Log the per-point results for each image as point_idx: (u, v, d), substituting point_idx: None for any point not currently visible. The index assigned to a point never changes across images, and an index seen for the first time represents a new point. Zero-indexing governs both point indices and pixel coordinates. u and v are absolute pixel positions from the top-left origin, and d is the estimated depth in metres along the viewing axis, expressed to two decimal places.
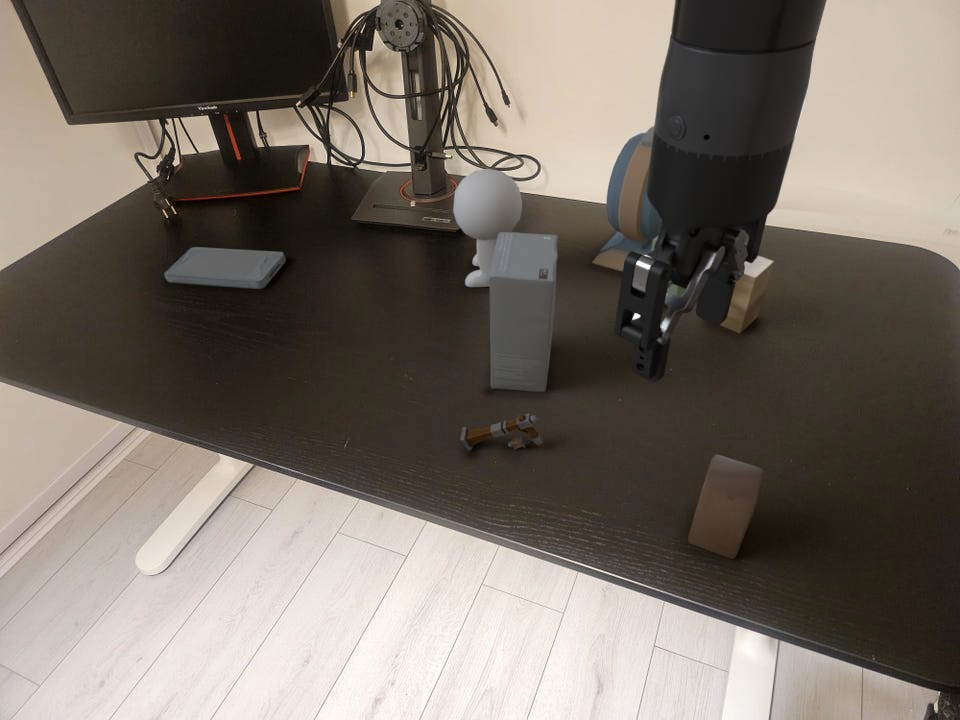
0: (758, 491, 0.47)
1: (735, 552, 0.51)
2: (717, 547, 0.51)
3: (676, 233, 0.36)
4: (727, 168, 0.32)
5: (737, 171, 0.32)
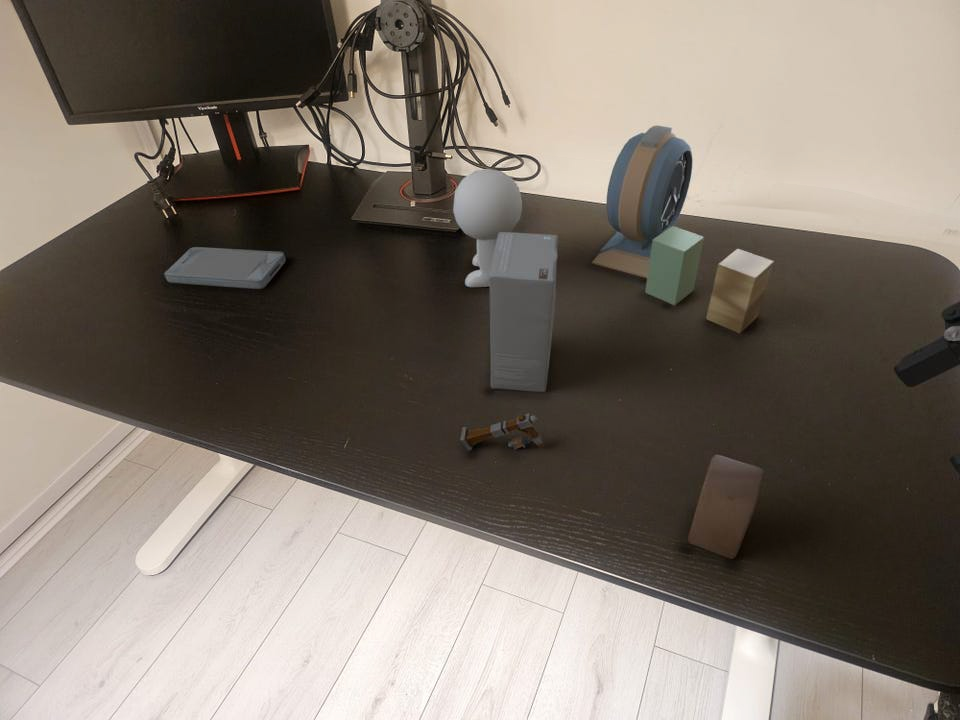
0: (758, 491, 0.47)
1: (735, 552, 0.51)
2: (717, 547, 0.51)
3: None
4: None
5: None
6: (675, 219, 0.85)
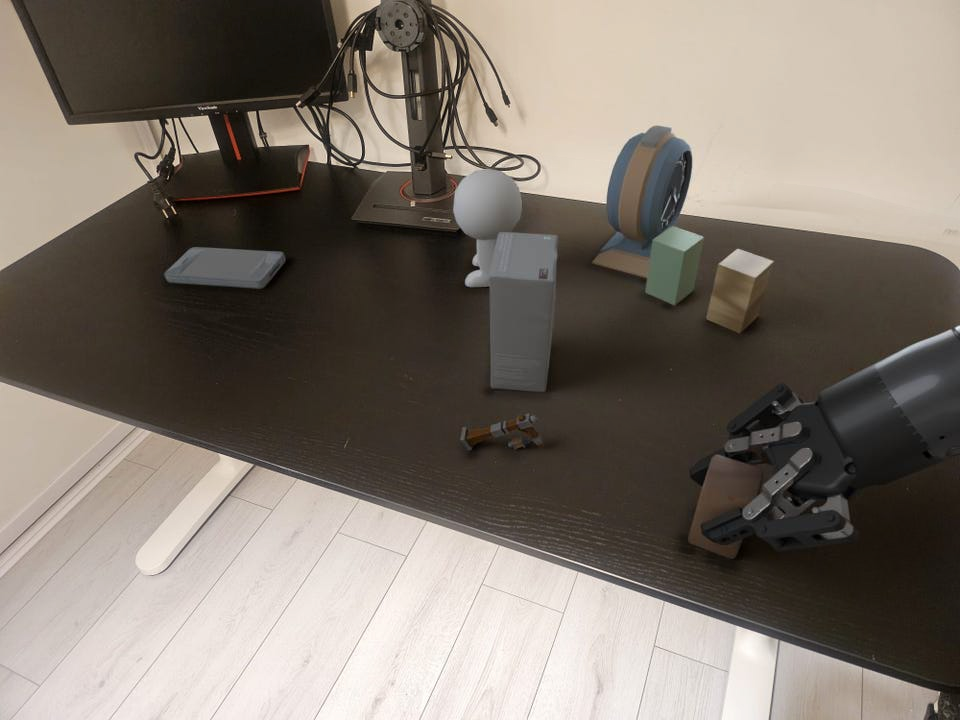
0: (758, 491, 0.47)
1: (735, 552, 0.51)
2: (717, 547, 0.51)
3: None
4: (866, 368, 0.44)
5: None
6: (675, 219, 0.85)
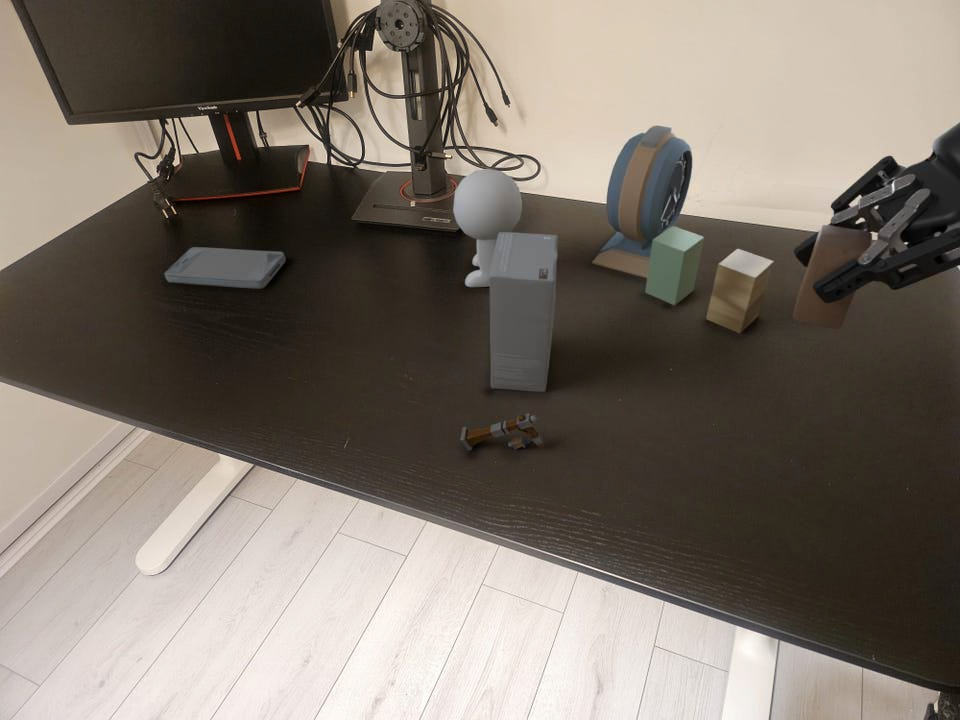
0: None
1: (842, 319, 0.53)
2: (823, 317, 0.54)
3: None
4: None
5: None
6: (675, 219, 0.85)
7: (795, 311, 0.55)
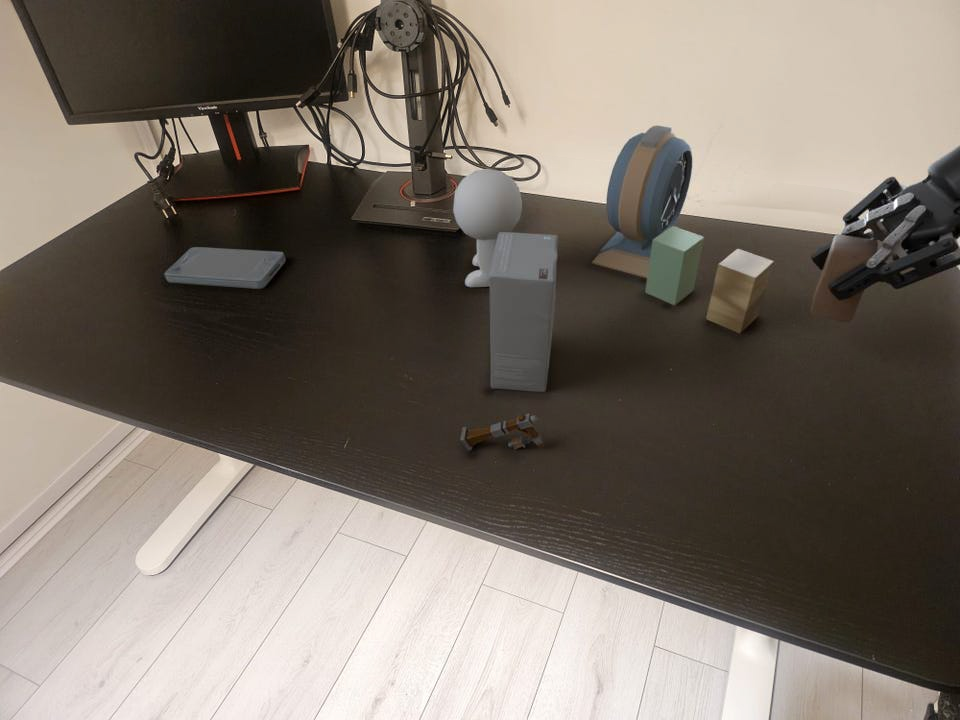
0: (876, 252, 0.60)
1: (852, 314, 0.63)
2: (837, 312, 0.64)
3: None
4: None
5: None
6: (675, 219, 0.85)
7: (812, 307, 0.65)
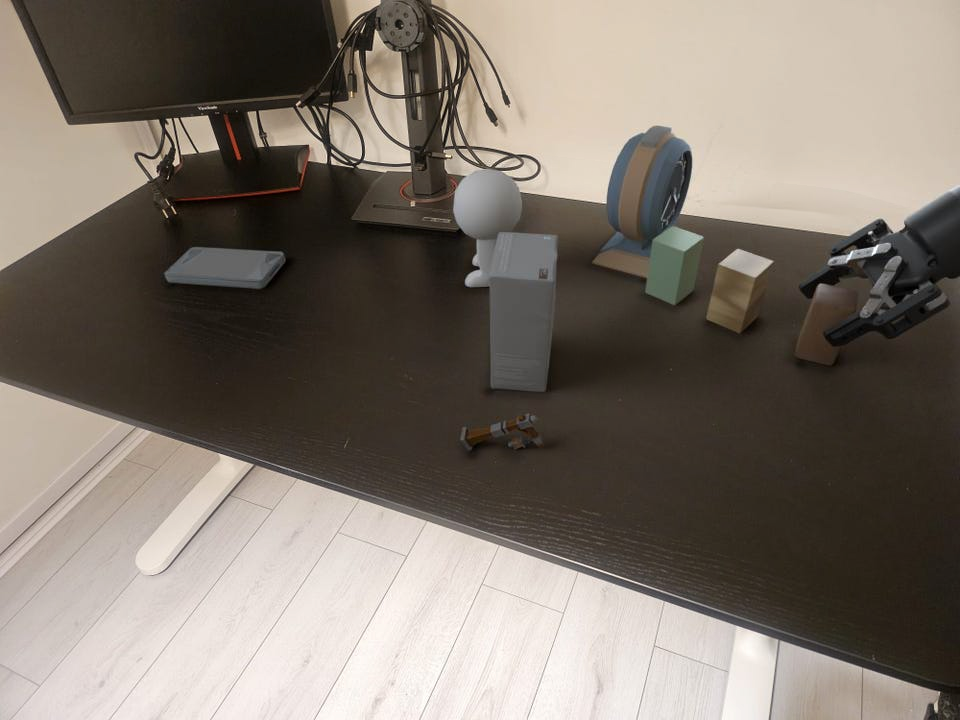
0: (856, 303, 0.64)
1: (833, 358, 0.67)
2: (819, 356, 0.68)
3: None
4: None
5: None
6: (675, 219, 0.85)
7: (796, 350, 0.69)
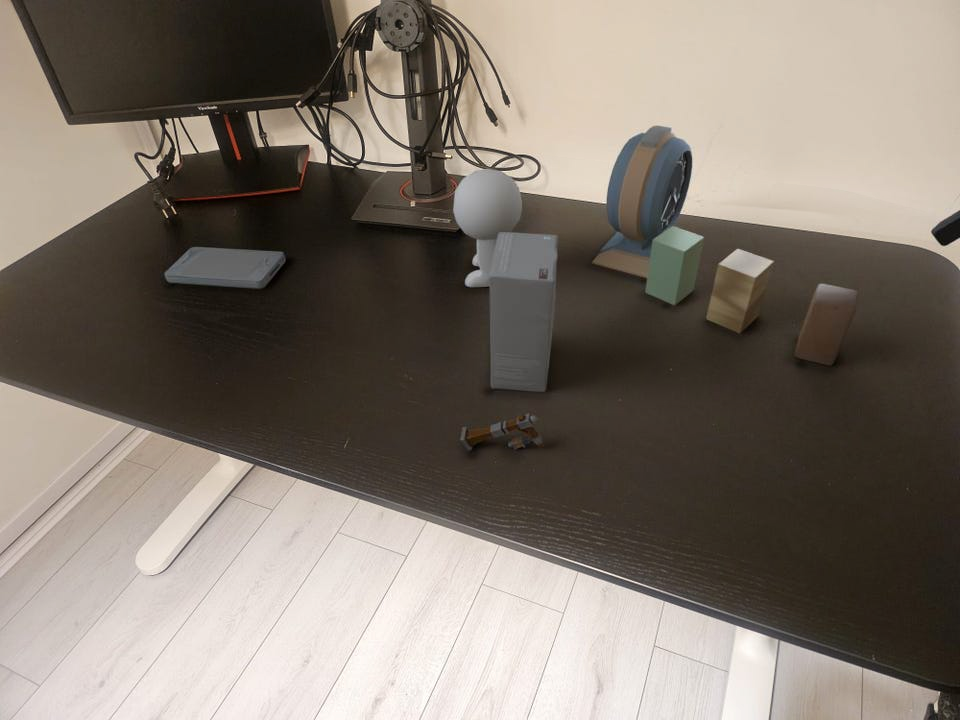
0: (856, 303, 0.64)
1: (833, 358, 0.67)
2: (819, 356, 0.68)
3: None
4: None
5: None
6: (675, 219, 0.85)
7: (796, 350, 0.69)
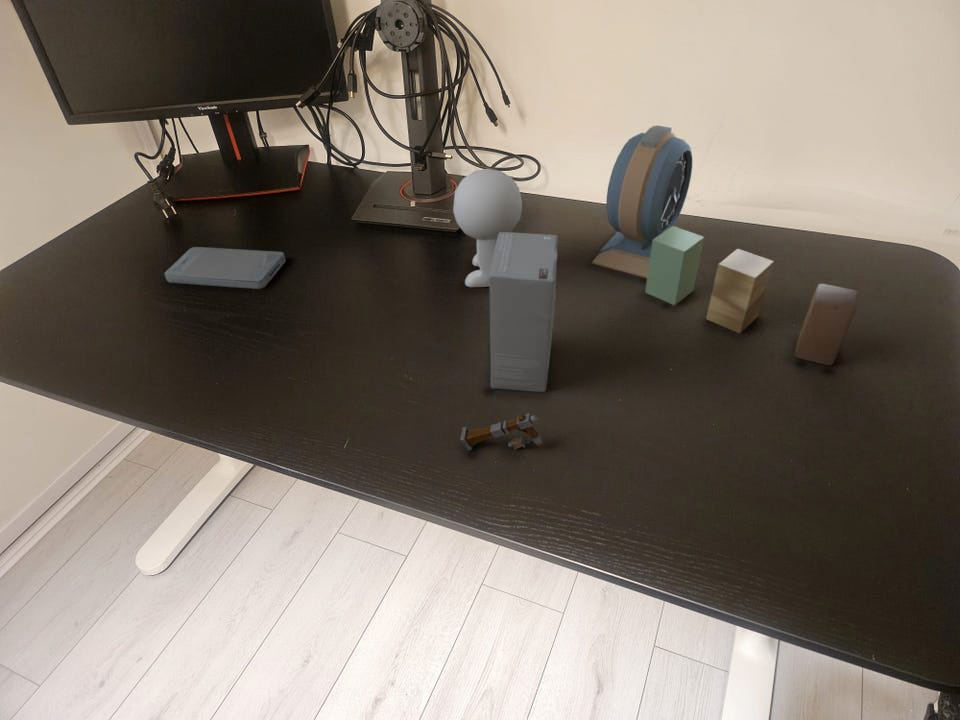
0: (856, 303, 0.64)
1: (833, 358, 0.67)
2: (819, 356, 0.68)
3: None
4: None
5: None
6: (675, 219, 0.85)
7: (796, 350, 0.69)
